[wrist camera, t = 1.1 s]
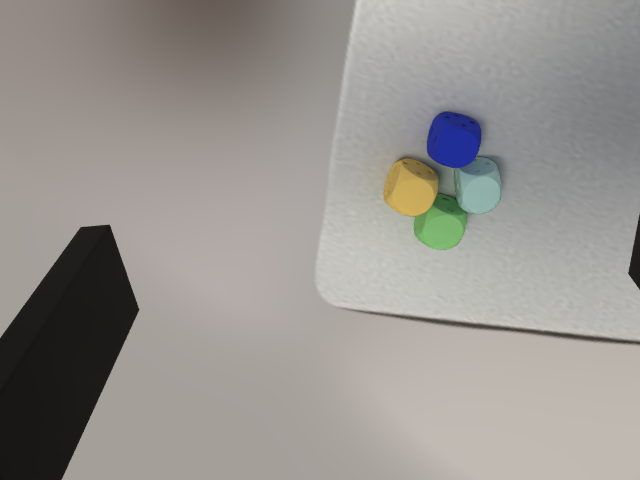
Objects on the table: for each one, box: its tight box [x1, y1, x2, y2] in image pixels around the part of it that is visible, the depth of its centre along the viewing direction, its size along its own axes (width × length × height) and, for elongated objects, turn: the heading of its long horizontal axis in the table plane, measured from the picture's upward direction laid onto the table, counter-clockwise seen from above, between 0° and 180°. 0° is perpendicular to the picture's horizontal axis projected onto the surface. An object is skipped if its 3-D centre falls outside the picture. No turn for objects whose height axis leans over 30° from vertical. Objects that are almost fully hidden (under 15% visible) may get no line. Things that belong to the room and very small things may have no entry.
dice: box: [384, 112, 501, 250], centre depth 34 cm, size 8×3×6 cm
